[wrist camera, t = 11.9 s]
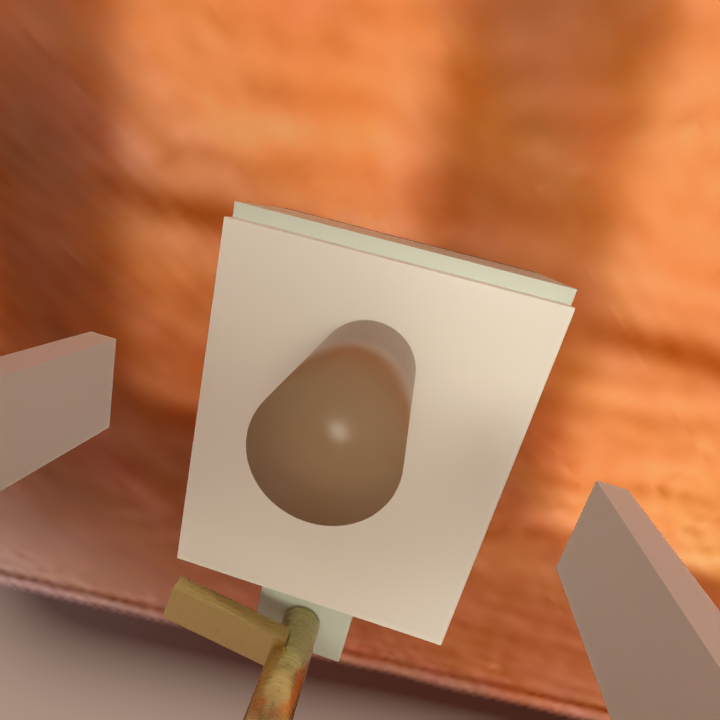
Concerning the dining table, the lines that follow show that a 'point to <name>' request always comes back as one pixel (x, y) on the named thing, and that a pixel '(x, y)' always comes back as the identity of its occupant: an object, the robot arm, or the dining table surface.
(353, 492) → the cover
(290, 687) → the t key
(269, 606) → the junction box
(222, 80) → the dining table surface
